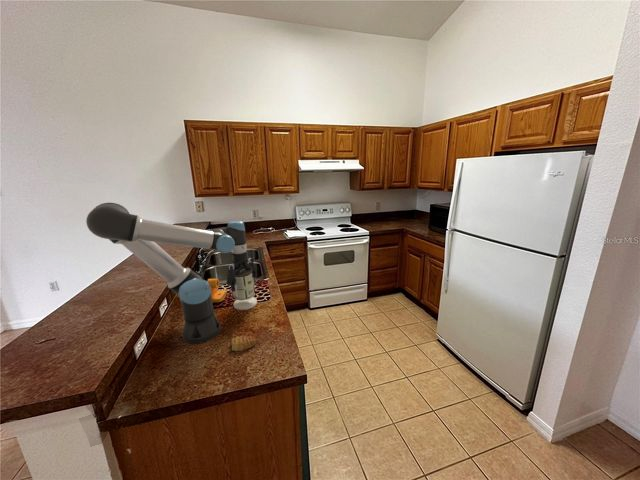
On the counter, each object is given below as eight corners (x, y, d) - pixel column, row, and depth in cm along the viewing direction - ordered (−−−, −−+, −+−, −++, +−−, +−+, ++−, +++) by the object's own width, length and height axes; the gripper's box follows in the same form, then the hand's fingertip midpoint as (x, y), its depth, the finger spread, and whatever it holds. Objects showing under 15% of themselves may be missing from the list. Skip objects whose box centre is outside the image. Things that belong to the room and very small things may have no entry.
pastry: (254, 338, 110) (254, 330, 109) (256, 348, 104) (255, 340, 103) (231, 343, 107) (230, 335, 106) (232, 354, 101) (230, 345, 100)
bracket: (221, 303, 139) (218, 283, 136) (207, 303, 139) (204, 283, 136) (227, 294, 149) (224, 274, 146) (214, 294, 149) (211, 275, 146)
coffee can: (239, 291, 142) (236, 267, 138) (257, 291, 141) (254, 267, 137) (231, 300, 132) (227, 274, 128) (250, 301, 131) (247, 275, 127)
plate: (243, 312, 129) (243, 310, 129) (229, 305, 136) (228, 303, 136) (261, 302, 139) (261, 300, 138) (247, 296, 146) (247, 294, 145)
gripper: (223, 259, 119) (229, 303, 125) (261, 247, 136) (265, 285, 142) (214, 256, 123) (221, 298, 129) (252, 245, 140) (256, 282, 146)
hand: (244, 292), depth 136 cm, fingers closed on coffee can, 10 cm apart
